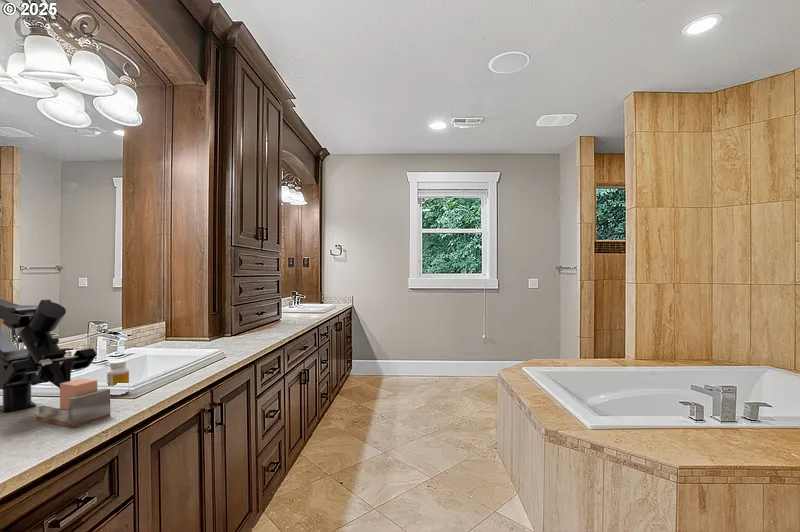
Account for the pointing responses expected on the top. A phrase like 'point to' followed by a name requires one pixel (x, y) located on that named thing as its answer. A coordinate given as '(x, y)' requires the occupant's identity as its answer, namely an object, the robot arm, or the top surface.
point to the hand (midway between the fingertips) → (67, 390)
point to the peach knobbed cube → (75, 390)
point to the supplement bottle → (117, 373)
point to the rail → (79, 410)
